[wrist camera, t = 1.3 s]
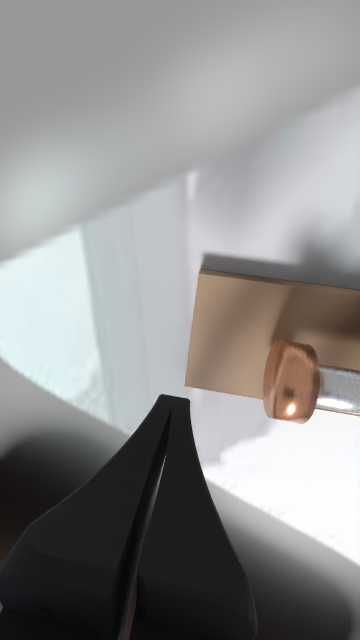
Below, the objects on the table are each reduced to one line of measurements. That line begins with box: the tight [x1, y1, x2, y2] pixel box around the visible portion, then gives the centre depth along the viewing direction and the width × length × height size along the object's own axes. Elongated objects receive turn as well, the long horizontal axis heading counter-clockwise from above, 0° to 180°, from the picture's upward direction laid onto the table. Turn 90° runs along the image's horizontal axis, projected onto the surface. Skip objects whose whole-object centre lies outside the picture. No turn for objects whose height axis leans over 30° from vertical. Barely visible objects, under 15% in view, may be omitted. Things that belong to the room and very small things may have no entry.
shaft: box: [263, 340, 360, 424], centre depth 15 cm, size 8×4×4 cm, turn 85°
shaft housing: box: [185, 269, 360, 416], centre depth 16 cm, size 20×9×7 cm, turn 85°
